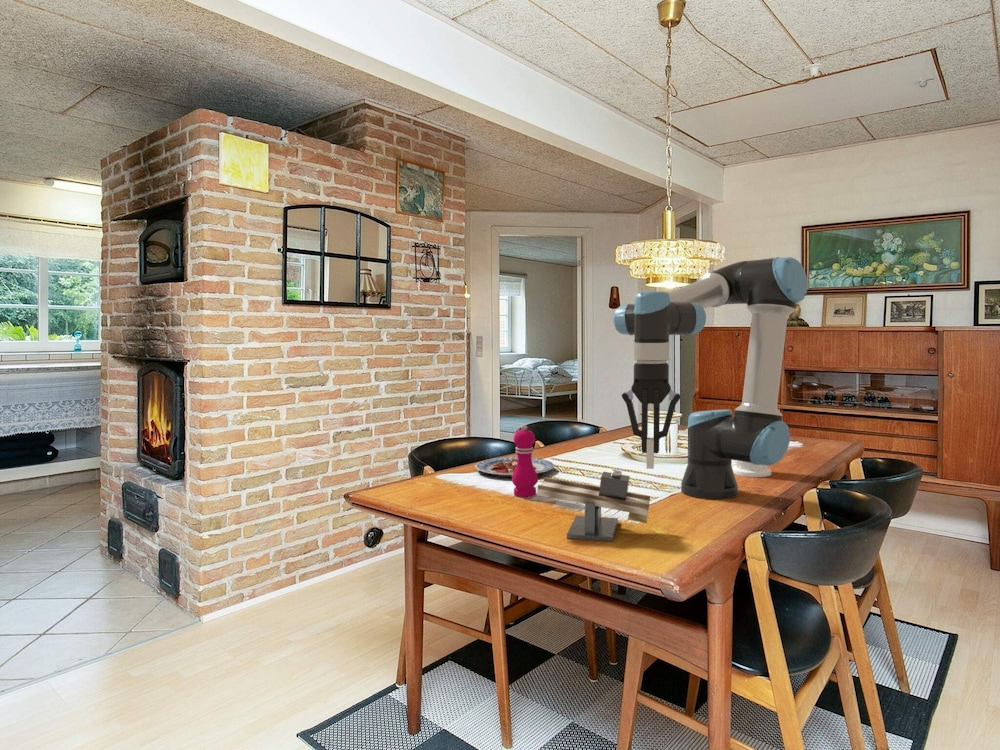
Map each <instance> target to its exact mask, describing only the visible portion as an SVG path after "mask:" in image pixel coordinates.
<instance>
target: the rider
mask: <svg viewBox="0 0 1000 750" xmlns="http://www.w3.org/2000/svg"><path fill="white" fill-rule="evenodd" d="M622 473H623V471H621V470H618V469H611V470H610V472H607V471H603V472H602V474H601V476H600V481H599V482H600V483H599V487H600V490H599V496H603V497H609V498H614V499H619V500H625V501H626V498H627V492H628V491H629V484H630V475H626V474H622Z"/></svg>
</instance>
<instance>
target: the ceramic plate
mask: <svg viewBox="0 0 1000 750" xmlns="http://www.w3.org/2000/svg"><path fill="white" fill-rule="evenodd" d="M517 458H518V457H517V456H505V457H495V458H489V459H485V460H482V461H479V462H477V463H476V464H475V466H474V467H475V469H476V470H477V471H480V472H482V473H485V474H491V475H492V476H497V477H505V478H512V476H513V472H514V470H515V468H516V465H517ZM532 464H533V467H534V469H535V471H536V473H537V475H538V474H541V473H545V472H548V471H551V470H552V469H554V467H555V465H554V463H553V462H551V461H549V460H548V459H544V458H543V459H542V458H537V457H532Z"/></svg>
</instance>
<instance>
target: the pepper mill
mask: <svg viewBox="0 0 1000 750" xmlns="http://www.w3.org/2000/svg"><path fill="white" fill-rule="evenodd" d="M535 442H536V436H535V434H534V433H533V431H532V430H529V429H528V426H527V424H521V425H520V430H518V431H516V432H515V433H514V435H513V443H514V445H516V447H515V453H516V457H518V458H517V465H516V468H515V470H514V472H513V476H512V477H511V482H512V484H513V485H514V486H515V487H514V488H513V495H514V497H517V498H532V497H535V496H536V495H537V488H536V487H535V486H536V484H537V483H538V480H539V479H538V474H537V473H536V471H535V469H534V467H533V464H532V458H533V457H532V456H533V452H534V447H533V445H534V444H535Z"/></svg>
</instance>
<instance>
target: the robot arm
mask: <svg viewBox="0 0 1000 750" xmlns="http://www.w3.org/2000/svg"><path fill="white" fill-rule="evenodd" d="M807 292H808V278H807V274H806V271H805V268H804V267H803V265H802V263H801V262H800V261H799V260H798V259H796V258H794V257H792V256H791V257H790V256H786V257H779V256H777V257H770V258H763V259H762V258H761V259H754V260H753V259H752V260H743V261H738V262H735V263H730V264H728V265H725V266H723V267H720V268H718V269H715V270H713V271H710V272H707V273H706V274H704V275H702V277H700V279H698V280H697V281H694V282H691V283H690V284H686V285H684V286H681V287H679V288H676V289H673V290H670V291H668V292H667V291H642V292H638V293H637V294H636V295H635V297H634V304H631V303H627V304H624V305H623V304H622V305H620V306H618V307H617V308H616V310H615V311H614V314H613V319H612V320H613V324H614V328H615V330H616V331H617V332H618V333H619V334H621V335H627V336H633V337H634V340H633V342H634V343H633V360H634V361H636V363H634V364H633V383H632V385H631V388H630V389H629V390H627V391H626V392H623V393H621V398H622V399H623V401H624V403H625V404H626V409H627V413H628V416H629V417H628V418H629V421H630V425H631V430H632V434H633V436H636V437H638V438H640V439H641V449H640V450H641V453H642V454H646V469H649V470H654V468H655V454H659V452H660V440H661V439H662V438H664V437H665V438H666V437H668V434H669V431H670V427H671V423H672V419H673V415H674V412H675V408H676V405H677V404H678V403H679V401H680V400H681V394H680V393H677V392H676V391H674V390H673V389H672V387H671V385H670V382H669V381H670V380H669V379H670V378H669V374H670V373H669V372H670V370H669V368H670V366H669V363H667V362H668V361H669V359H670V357H669V355H670V336H690V335H696V334H697V335H698V334H699V333H700V332H701V331H702V330H703V329H704V328H705V325H706V322H707V314H706V311H705V309H707V308H710V307H712V308H719V307H722V306H723V305H737V304H738V305H743V304H744V305H745V304H746V305H747V306H746V309H747V310H748V311H749V312H750V314H751V316H752V317H751V325H750V330H749V331H750V332H749V333H750V334H749V341H748V347H747V355H746V356H747V357H746V365H745V375H744V382H743V391H742V399H741V404H740V405H739V406H738V407H736V408H735V409H734V413H733V411H732V410H731V409H713V410H711V409H710V410H699V411H694V412H692V413H689V415H688V422H687V427H686V429H687V465H686V468H685V471H684V475H683V477H682V480H681V482H680V483H681V485H680V486H681V487H680V490H681V492H682V493H683V494H685V495H686V496H689V497H690V496H691V497H693V498H694V497H695V498H700V499H708V500H709V499H710V500H711V499H712V500H713V499H714V500H722V499H723V500H726V499H731V498H734V497H737V496H738V494H739V486H738V481H737V479H736V475H735V474H734V472H733V469H732V467H733V466H732V465H733V464H732V461H735V460H737V461H742V462H748V463H753V464H755V465H768V466H774V465H776V464H777V463H779V462H780V461H782V459H783V458H784V457H785V454H786V453H787V451H788V448H789V445H790V440H791V432H790V428H789V425H788V424H787V423H785V422H784V421H783V414H782V413H781V411H780V410H779V408H778V402H779V401H778V400H779V393H780V385H781V376H782V367H783V359H784V351H785V341H786V335H787V333H786V332H787V324H788V318H789V316H790V315H792V314H793V313H795V311H796V309H795V308H796V303H797V304H798V303H800V302H802V301H803V300H804V299H805V297H806V296H807ZM668 395H669V396H668ZM634 396H635V397H636V398H637V400H638V401H639V402H640V403H641V430H640V428H639V424H638V420H637V416H636V411H635V407H634V402H633V399H634ZM667 396H668V400H669V401H670V402H669V404H668V409H667V412H666V415H665V421H664V424H663V427H662V430H661V431H660V408H661V403H662V402H663V401H664V400H665V399H666V398H667ZM650 404H652V405H653V437H648V436H649V435H648V426H649V425H648V423H649V422H648V420H649V415H648V414H649V411H648V410H649V405H650ZM733 414H734V415H733Z"/></svg>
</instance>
